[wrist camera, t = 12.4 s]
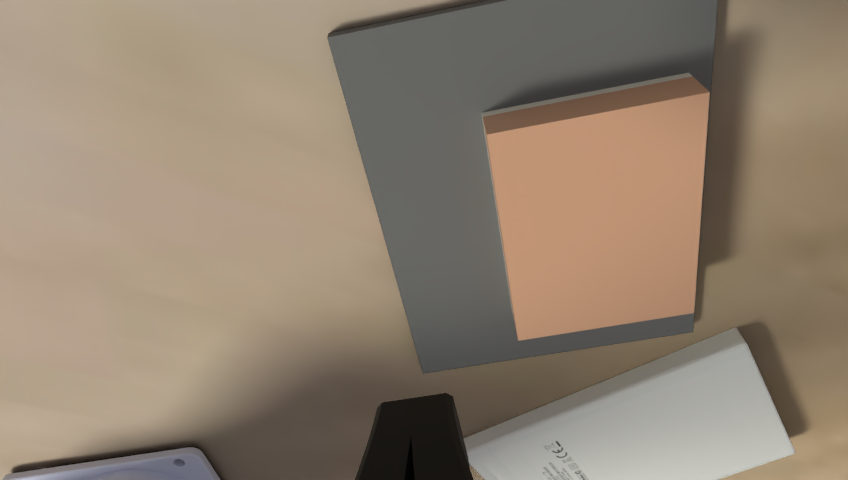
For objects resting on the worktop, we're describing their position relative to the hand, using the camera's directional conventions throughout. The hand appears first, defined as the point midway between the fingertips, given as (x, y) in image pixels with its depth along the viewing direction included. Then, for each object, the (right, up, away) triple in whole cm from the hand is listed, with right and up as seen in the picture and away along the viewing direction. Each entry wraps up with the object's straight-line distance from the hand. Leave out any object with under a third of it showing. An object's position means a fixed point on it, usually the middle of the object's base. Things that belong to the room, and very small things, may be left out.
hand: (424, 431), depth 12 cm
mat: (+4, +5, +9) cm, 11 cm away
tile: (+2, +4, +8) cm, 9 cm away
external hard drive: (+9, -5, +17) cm, 20 cm away
